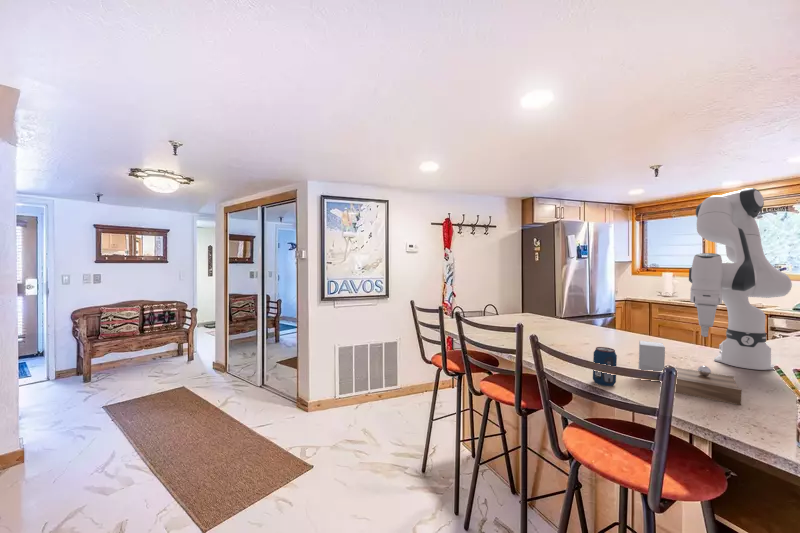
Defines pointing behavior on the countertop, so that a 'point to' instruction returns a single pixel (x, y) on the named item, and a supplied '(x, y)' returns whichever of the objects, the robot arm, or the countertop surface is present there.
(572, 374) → the countertop surface
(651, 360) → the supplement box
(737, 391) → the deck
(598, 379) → the soda can
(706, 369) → the ball
